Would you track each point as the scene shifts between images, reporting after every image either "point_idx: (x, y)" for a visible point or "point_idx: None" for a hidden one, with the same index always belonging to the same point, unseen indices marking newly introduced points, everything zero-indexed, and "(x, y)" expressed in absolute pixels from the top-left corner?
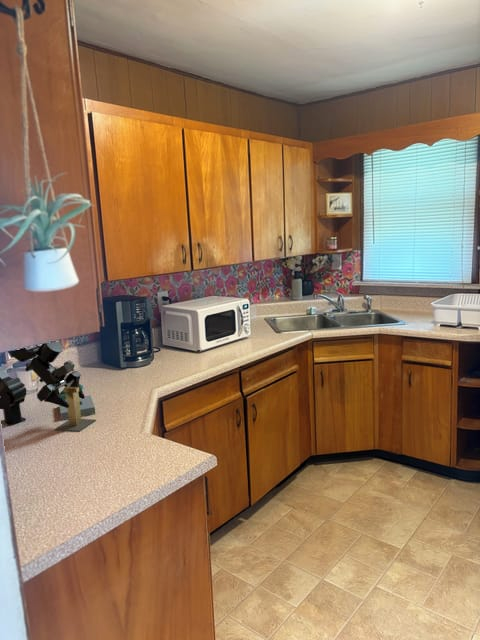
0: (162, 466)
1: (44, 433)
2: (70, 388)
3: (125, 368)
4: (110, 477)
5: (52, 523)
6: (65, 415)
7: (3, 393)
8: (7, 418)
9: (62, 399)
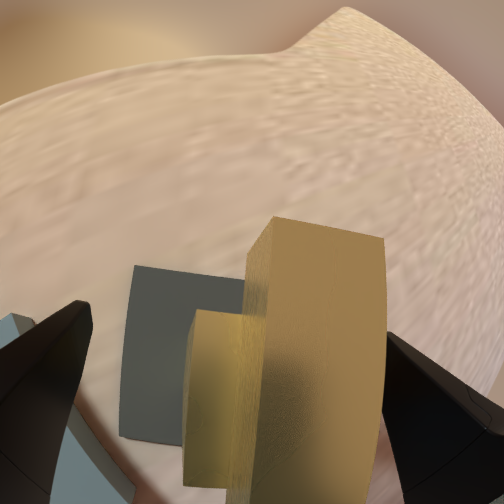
0: (402, 51)
1: None
2: (381, 407)
3: None
4: (462, 118)
5: None
6: (117, 478)
7: None
8: None
9: (455, 381)
